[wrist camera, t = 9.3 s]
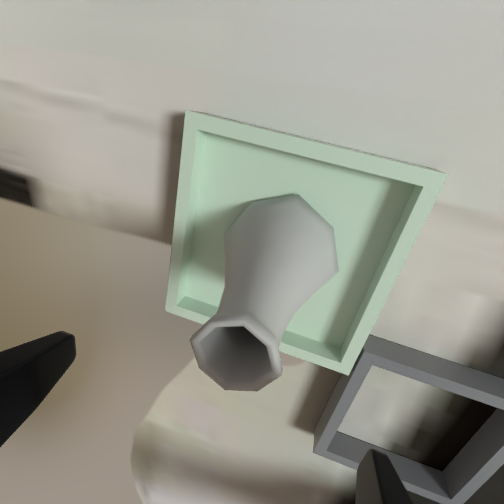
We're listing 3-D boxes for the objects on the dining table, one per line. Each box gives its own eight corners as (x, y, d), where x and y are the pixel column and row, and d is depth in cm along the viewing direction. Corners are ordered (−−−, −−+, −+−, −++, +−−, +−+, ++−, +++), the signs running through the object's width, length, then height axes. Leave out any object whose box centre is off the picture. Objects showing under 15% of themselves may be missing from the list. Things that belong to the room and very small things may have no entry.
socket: (447, 481, 24) (457, 509, 22) (314, 429, 25) (313, 452, 23) (531, 388, 19) (552, 415, 17) (361, 331, 21) (364, 351, 19)
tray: (347, 355, 22) (348, 375, 20) (178, 297, 23) (165, 310, 22) (435, 169, 16) (448, 174, 14) (200, 112, 18) (185, 110, 16)
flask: (208, 225, 20) (103, 307, 11) (305, 171, 17) (273, 221, 8) (261, 311, 21) (208, 445, 12) (358, 275, 18) (382, 415, 9)
